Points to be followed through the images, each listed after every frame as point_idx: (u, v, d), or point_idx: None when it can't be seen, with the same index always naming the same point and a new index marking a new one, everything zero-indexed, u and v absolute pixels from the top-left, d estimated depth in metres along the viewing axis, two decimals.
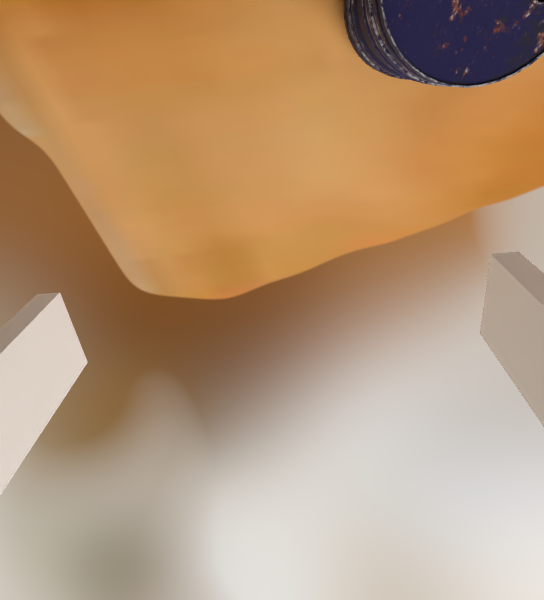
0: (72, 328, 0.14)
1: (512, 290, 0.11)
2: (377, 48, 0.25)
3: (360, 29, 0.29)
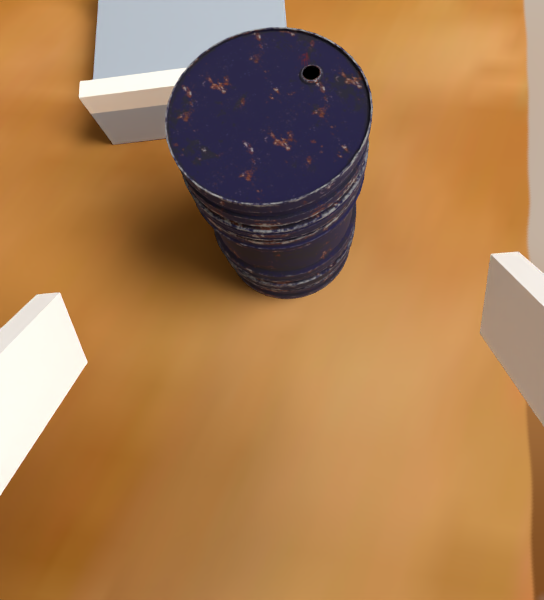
0: (72, 328, 0.14)
1: (512, 290, 0.11)
2: (289, 245, 0.23)
3: (274, 271, 0.28)
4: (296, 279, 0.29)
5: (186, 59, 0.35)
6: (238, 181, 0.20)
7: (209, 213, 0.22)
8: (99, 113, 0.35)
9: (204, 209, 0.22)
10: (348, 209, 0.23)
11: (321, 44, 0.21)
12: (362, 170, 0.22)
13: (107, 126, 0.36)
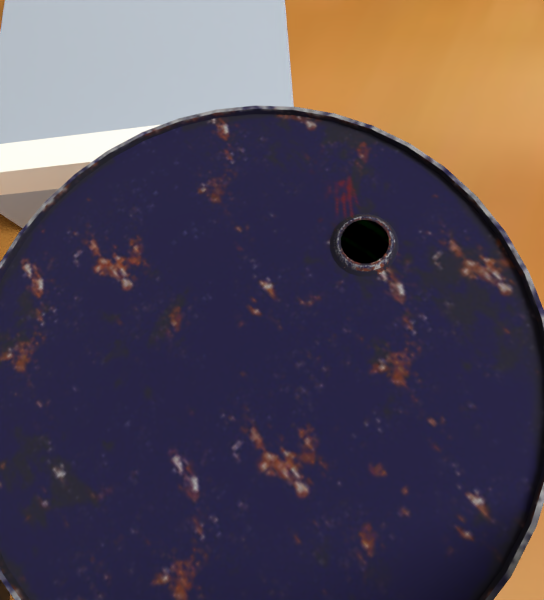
0: None
1: None
2: None
3: None
4: None
5: (130, 109, 0.22)
6: (149, 599, 0.06)
7: None
8: None
9: None
10: None
11: (388, 155, 0.08)
12: None
13: (10, 212, 0.23)
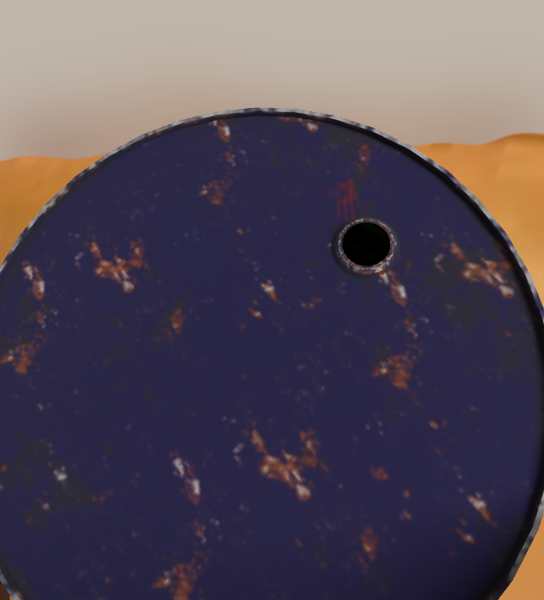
0: None
1: None
2: None
3: None
4: None
5: None
6: None
7: None
8: None
9: None
10: None
11: (389, 157, 0.08)
12: None
13: None
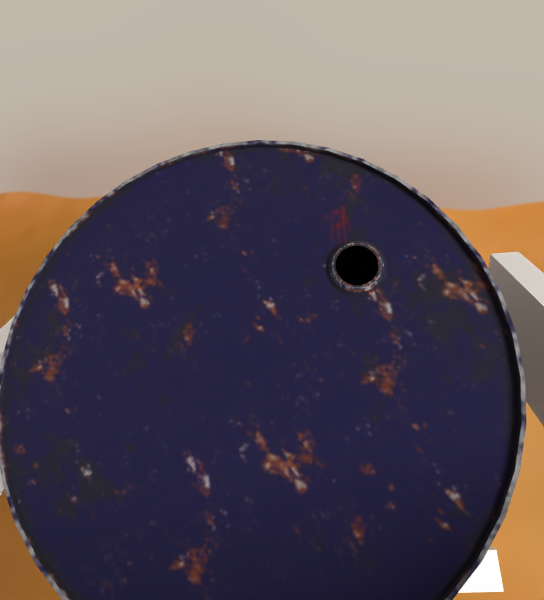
0: None
1: (512, 290, 0.11)
2: None
3: None
4: None
5: None
6: (167, 583, 0.07)
7: None
8: None
9: None
10: None
11: (378, 186, 0.09)
12: None
13: None
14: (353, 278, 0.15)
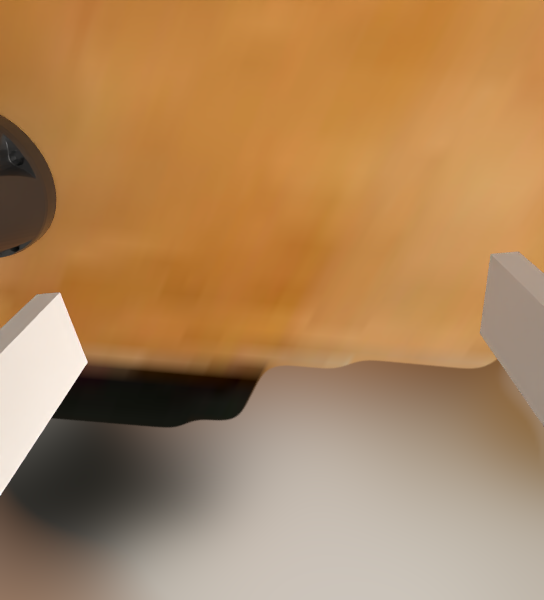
0: (72, 328, 0.14)
1: (512, 290, 0.11)
2: None
3: None
4: None
5: None
6: None
7: None
8: None
9: None
10: None
11: None
12: None
13: None
14: None
